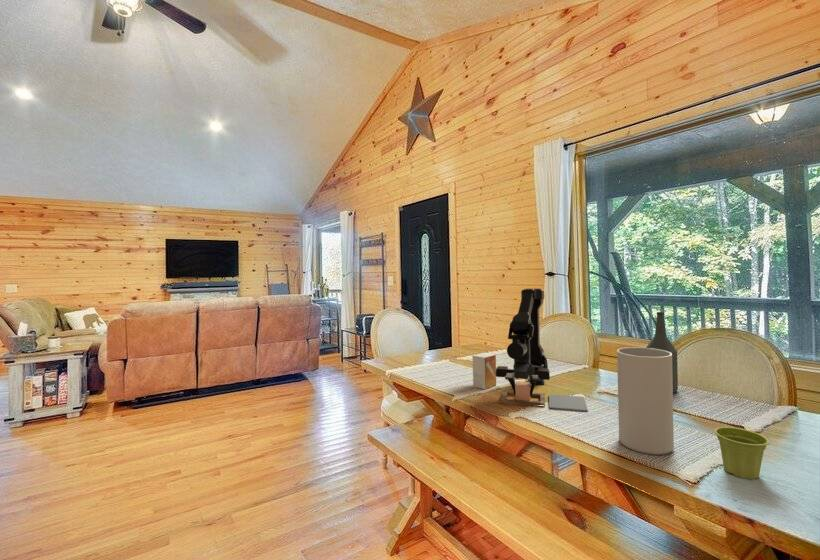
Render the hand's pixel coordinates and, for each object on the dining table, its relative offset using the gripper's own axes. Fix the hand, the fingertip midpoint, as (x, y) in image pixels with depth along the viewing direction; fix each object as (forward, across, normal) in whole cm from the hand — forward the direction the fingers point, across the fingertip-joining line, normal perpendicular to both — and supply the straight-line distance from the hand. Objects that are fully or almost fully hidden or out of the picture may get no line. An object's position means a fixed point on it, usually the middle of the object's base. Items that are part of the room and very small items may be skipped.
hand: (523, 395), depth 142 cm
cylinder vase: (+2, +33, -29) cm, 44 cm away
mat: (+2, +15, 0) cm, 15 cm away
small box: (+2, -16, +14) cm, 21 cm away
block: (+2, 0, 0) cm, 2 cm away
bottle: (+2, +50, +25) cm, 56 cm away
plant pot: (+2, +50, -39) cm, 63 cm away
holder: (+2, 0, 0) cm, 2 cm away
